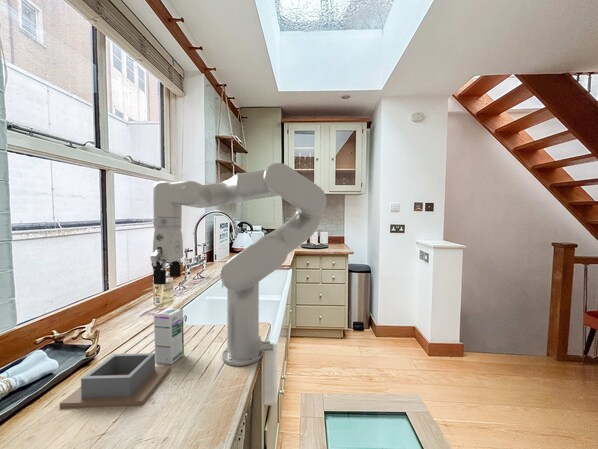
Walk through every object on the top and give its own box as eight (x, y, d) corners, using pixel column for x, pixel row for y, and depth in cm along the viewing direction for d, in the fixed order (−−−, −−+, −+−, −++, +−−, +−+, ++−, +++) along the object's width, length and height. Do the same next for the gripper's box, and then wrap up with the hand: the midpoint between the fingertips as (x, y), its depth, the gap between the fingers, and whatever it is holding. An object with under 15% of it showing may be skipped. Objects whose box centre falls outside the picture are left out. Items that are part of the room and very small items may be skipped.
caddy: (170, 369, 72) (170, 350, 72) (142, 405, 58) (141, 381, 58) (104, 371, 72) (104, 351, 72) (59, 407, 58) (59, 383, 58)
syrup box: (171, 364, 75) (171, 315, 75) (154, 362, 76) (153, 313, 76) (184, 354, 80) (183, 308, 80) (167, 353, 82) (167, 307, 81)
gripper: (166, 223, 69) (166, 287, 69) (191, 223, 87) (191, 274, 87) (138, 223, 69) (138, 287, 69) (168, 223, 86) (168, 274, 86)
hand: (167, 280), depth 78 cm, fingers open, 9 cm apart
